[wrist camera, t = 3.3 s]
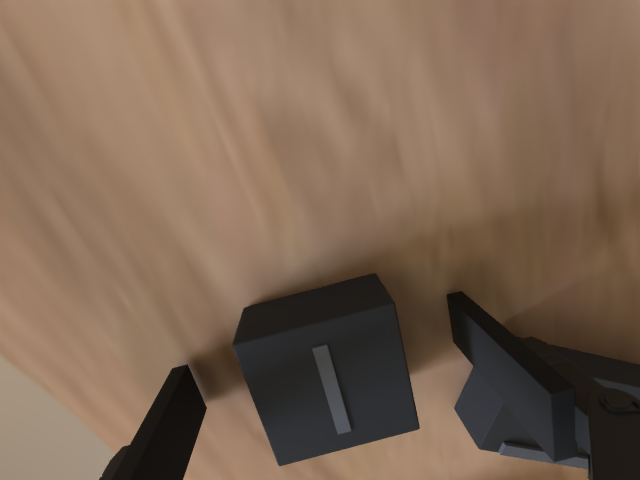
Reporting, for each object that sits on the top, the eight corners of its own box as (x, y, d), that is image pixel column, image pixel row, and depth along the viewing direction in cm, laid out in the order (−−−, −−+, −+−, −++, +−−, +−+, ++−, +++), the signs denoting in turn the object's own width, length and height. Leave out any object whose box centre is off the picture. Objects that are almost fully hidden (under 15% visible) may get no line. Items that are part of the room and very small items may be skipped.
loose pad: (243, 307, 15) (230, 346, 12) (375, 272, 15) (395, 303, 12) (281, 412, 17) (278, 469, 14) (399, 381, 17) (421, 431, 14)
